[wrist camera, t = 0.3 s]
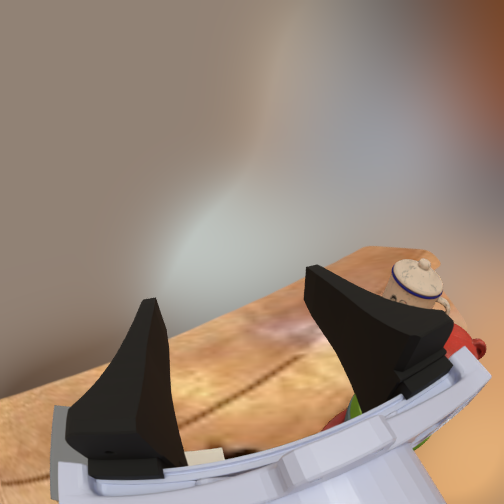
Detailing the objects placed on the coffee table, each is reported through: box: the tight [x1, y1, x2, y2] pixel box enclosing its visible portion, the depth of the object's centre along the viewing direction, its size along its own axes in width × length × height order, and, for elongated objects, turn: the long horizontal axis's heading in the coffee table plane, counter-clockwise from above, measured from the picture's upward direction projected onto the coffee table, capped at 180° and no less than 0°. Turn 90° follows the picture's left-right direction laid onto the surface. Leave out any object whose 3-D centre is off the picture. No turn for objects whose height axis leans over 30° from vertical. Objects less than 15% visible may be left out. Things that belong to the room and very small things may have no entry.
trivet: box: [50, 405, 88, 501], centre depth 18 cm, size 12×12×1 cm
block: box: [184, 448, 225, 466], centre depth 18 cm, size 5×5×5 cm
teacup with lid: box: [382, 258, 450, 315], centre depth 37 cm, size 12×9×12 cm
